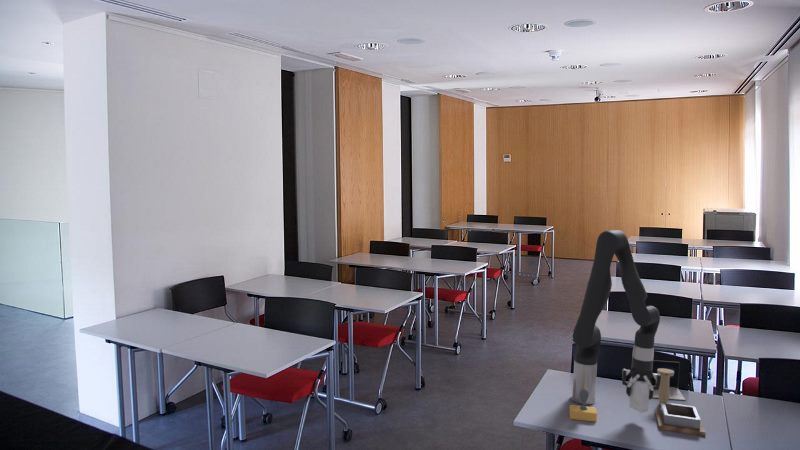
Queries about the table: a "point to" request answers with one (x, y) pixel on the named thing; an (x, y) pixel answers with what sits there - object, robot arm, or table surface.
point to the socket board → (679, 419)
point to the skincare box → (639, 396)
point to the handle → (664, 384)
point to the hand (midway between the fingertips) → (639, 396)
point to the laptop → (673, 382)
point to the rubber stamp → (583, 409)
